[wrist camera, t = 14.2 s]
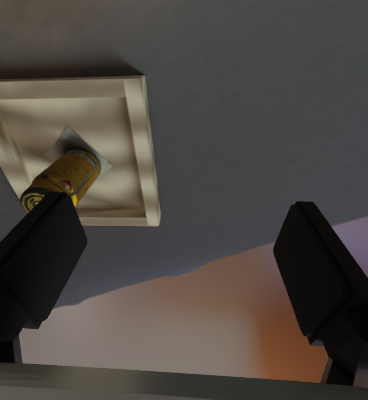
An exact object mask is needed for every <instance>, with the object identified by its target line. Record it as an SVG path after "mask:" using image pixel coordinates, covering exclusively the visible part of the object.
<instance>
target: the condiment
mask: <svg viewBox="0 0 368 400" xmlns="http://www.w3.org/2000/svg"><path fill="white" fill-rule="evenodd" d="M45 156H46V157H48V158H49V159H50V160H51V161H53V162H54V163H52V164H51V165H50V166H49V167H48V168H46V169H45V170H44V171H42V172H41V173H40V174H39V175H38V176H36V177H35V178H34V179H33V181H32V184H31V185H30V186H29V187H28V189H26V190H25V191H24V192H23V193H22V195H21V197H20V202H21V205H22V207H23V209H24V210H25V211H26V212H27V213H29V212H30V211H31V210H32V209H33V208H34V207H35V205H36V204H37V203H38V202H39V201H40V200H41V199H42V198H43V197H44V196H45V195H46V194H47V193H48V192H51V191H54V192H65V193H67V195H68V196H70V197H71V198H72V201H73V203H74V206H76V205H77V204H78V202H79V201H80V200H81V199H82V197H83V196H84V195H85V193H86V192H87V190H88V189H89V188H90V187H91V185H92V184H93V183H95V182H96V181H97V180H98V179H99V178H100V177H101V176H102V175H104V174H105V173H106V172H107V171H108V170H109V169H110V168H111V167H113V166H112V165H110V164H109V163H108V162H107V161H106V160H105V159H104V158H103V157H102V156H101V155H100V154H99V153H98V152H96V151H95V150H94V149H93V148H92V147H91V146H89V145H88V144H87V143H86V142H85V141H84V140H83V139H82V138H80V137H79V136H78V135H77V134H76V133H74V132H73V131H72V130H71V129H70V128H69V127H68V128H67V129H66V130H65V131H64V132H63V134H62V135H61V136H60V137H59V139H58V140H57V141H56V142H55V143H54V144H53V145H52V147H51V148H50V149H49V150H48V151H47V152H46V154H45Z"/></svg>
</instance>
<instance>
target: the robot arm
mask: <svg viewBox="0 0 368 400" xmlns="http://www.w3.org/2000/svg"><path fill="white" fill-rule="evenodd" d="M86 245H87V237H86V234H85V232H84V229H83V227H82V224H81V222H80V219H79V216H78V214H77V211H76V209H75V206H74V203H73V201H72V198H71V197H70V196H68V195H67V193H65V192H54V191H51V192H48V193H47V194H46V195H45V196H44V197H43V198H42V199H41V200H40V201H39V202H38V203H37V204H36V205H35V207H34V208H33V209H32V210H31V211H30V212H29V213H28V214H27V215H26V216H25V217H24V218H23V219H22V220H21V221H20V222H19V223H18V224H17V225H16V226H15V227H14V228H13V229H12V230H11V231H10V233H9V234H8V235H7V236H6V237H5V238H4V239H3V240H2V241H1V242H0V400H368V278H367V276H366V275H365V273H364V272H363V271H362V269H361V268H360V266H359V265H358V264H357V262H356V261H355V259H354V258H353V257H352V255H351V254H350V252H349V251H348V250H347V248H346V247H345V245H344V244H343V243H342V241H341V240H340V238H339V237H338V236H337V234H336V233H335V231H334V230H333V228H332V227H331V226H330V224H329V223H328V221H327V220H326V219H325V217H324V216H323V214H322V213H321V212H320V210H319V209H318V207H317V206H316V205H315V203H314V202H303V201H298V202H296V203H295V205H291V207H290V209H289V211H288V214H287V216H286V219H285V221H284V223H283V226H282V228H281V231H280V233H279V235H278V238H277V240H276V243H275V245H274V249H273V253H274V256H275V259H276V262H277V265H278V268H279V270H280V273H281V276H282V279H283V282H284V284H285V287H286V290H287V293H288V296H289V298H290V301H291V304H292V307H293V310H294V313H295V316H296V318H297V321H298V324H299V327H300V330H301V332H302V334H303V335H304V336H307V338H308V341H309V343H310V345H313V346H324V347H325V349H326V351H327V354H328V359H327V362H326V365H325V368H324V371H323V374H322V378H321V381H320V383H312V382H299V381H288V380H287V381H286V380H273V379H258V378H243V377H230V376H216V375H215V376H214V375H201V374H184V373H170V372H153V371H139V370H123V369H107V368H90V367H74V366H57V365H41V364H24V363H22V356H21V348H20V341H19V333H20V332H21V330H22V328H28V329H38V328H39V327H40V325H41V323H42V321H44V320H46V319H47V318H48V316H49V315H50V313H51V311H52V309H53V307H54V305H55V303H56V301H57V300H58V298H59V296H60V294H61V292H62V290H63V288H64V286H65V285H66V283H67V281H68V279H69V277H70V275H71V273H72V271H73V270H74V268H75V266H76V264H77V262H78V260H79V258H80V256H81V254H82V253H83V251H84V249H85V247H86Z"/></svg>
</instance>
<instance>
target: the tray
mask: <svg viewBox="0 0 368 400" xmlns="http://www.w3.org/2000/svg"><path fill="white" fill-rule="evenodd" d="M68 127H69V128H70V129H71V130H72V131H73V132H74V133H76V134H77V135H78V136H79V137H80V138H82V139H83V140H84V141H85V142H86V143H87V144H88V145H89V146H91V147H92V148H93V149H94V150H95V151H96V152H98V153H99V154H100V155H101V156H102V157H103V158H104V159H105V160H106V161H107V162H108V163H109V164H110V165H112V166H113V167H111V168H110V169H109V170H108V171H107V172H106V173H105V174H104V175H102V176H101V177H100V178H99V179H98V180H97V181H96V182H95V183H93V184H92V185H91V187H90V188H89V189H88V190H87V192H86V193H85V195H84V196H83V197H82V199H81V200H80V201H79V202H78V204H77V205H76V206H75V209H76V211H77V214H78V216H79V219H80V222H81V224H82V225H94V226H159V222H160V217H161V209H160V200H159V192H158V183H157V175H156V166H155V157H154V149H153V140H152V131H151V123H150V114H149V105H148V97H147V88H146V79H145V75H138V76H101V77H63V78H26V79H0V167H1V169H2V170H3V172H4V174H5V175H6V177H7V179H8V181H9V182H10V184H11V186H12V187H13V189H14V191H15V193H16V194H17V196H18V198H19V199H20V197H21V195H22V193H23V192H24V191H25V190H26V189H28V187H29V186H30V185H31V184H32V181H33V179H34V178H35V177H36V176H38V175H39V174H40V173H41V172H42V171H44V170H45V169H46V168H48V167H49V166H50V165H51V164H52V163H54V162H53V161H51V160H50V159H49V158H48V157H46V156H45V154H46V152H47V151H48V150H49V149H50V148H51V147H52V145H53V144H54V143H55V142H56V141H57V140H58V139H59V137H60V136H61V135H62V134H63V132H64V131H65V130H66V129H67V128H68Z"/></svg>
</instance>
